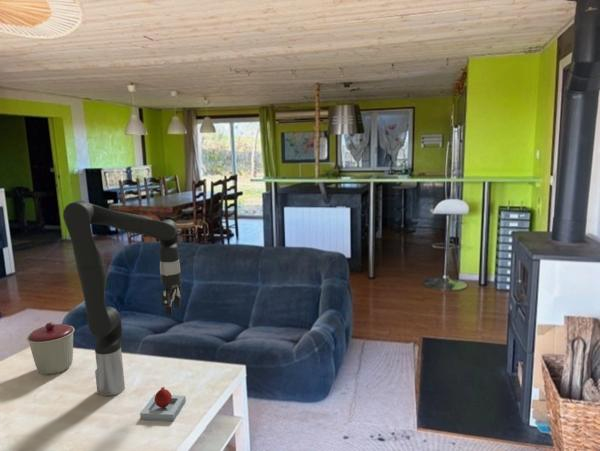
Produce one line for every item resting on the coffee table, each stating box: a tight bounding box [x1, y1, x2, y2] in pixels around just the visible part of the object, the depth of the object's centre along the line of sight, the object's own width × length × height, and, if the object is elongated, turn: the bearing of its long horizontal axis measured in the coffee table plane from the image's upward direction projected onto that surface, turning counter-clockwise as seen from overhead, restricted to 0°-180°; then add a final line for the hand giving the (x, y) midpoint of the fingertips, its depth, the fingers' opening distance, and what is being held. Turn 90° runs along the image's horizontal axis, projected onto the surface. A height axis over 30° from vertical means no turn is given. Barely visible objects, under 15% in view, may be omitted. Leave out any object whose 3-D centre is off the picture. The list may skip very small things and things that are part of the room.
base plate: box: [139, 394, 187, 422], centre depth 164 cm, size 12×12×2 cm
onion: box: [154, 386, 172, 408], centre depth 163 cm, size 6×6×8 cm
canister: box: [26, 321, 75, 375], centre depth 195 cm, size 18×18×21 cm
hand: (173, 311), depth 178 cm, fingers open, 8 cm apart
